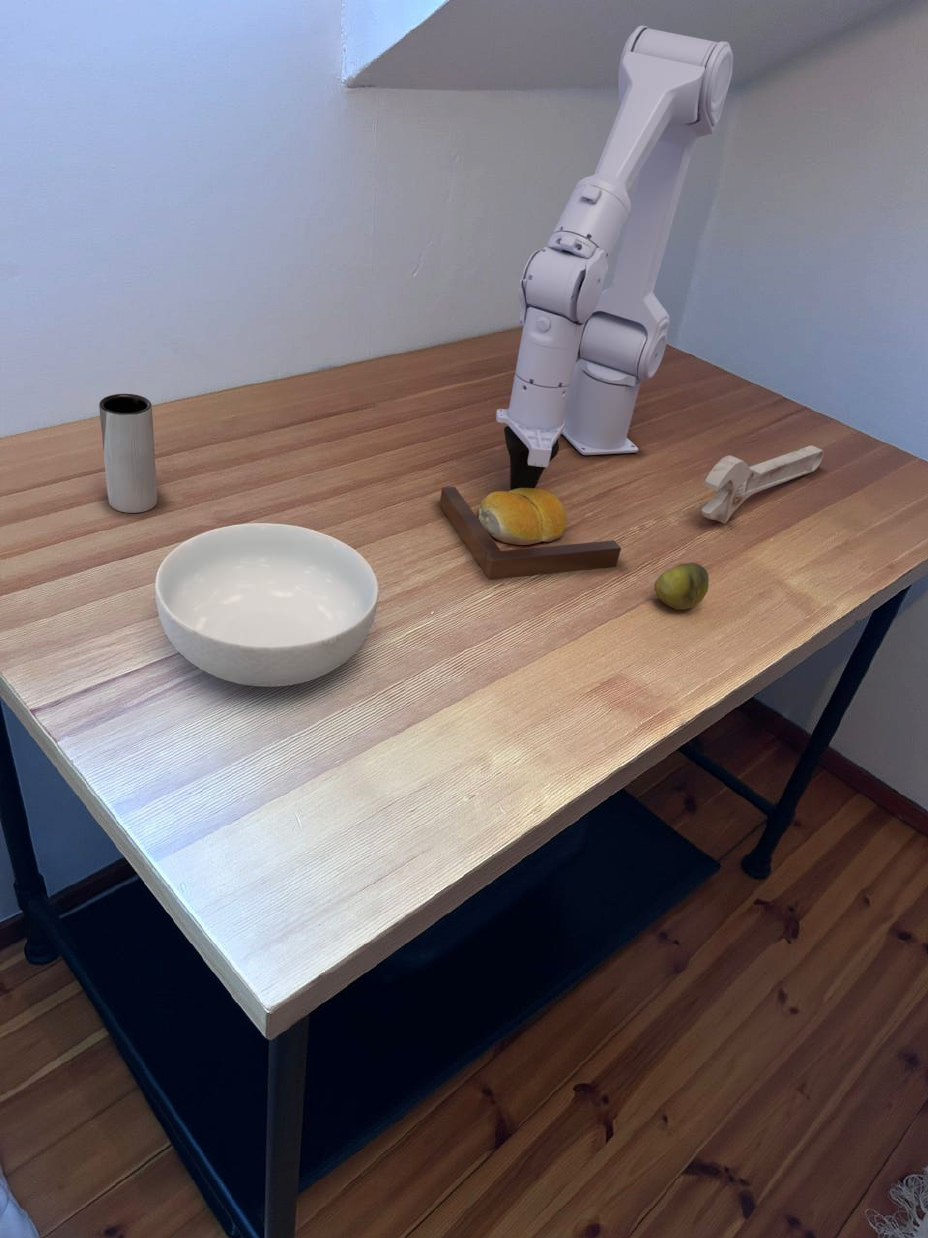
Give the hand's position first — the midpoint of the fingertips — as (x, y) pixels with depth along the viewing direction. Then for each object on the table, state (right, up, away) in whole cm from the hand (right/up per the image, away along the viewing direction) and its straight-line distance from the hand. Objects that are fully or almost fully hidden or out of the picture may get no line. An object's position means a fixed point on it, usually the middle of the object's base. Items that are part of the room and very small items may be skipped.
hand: (520, 495), depth 102 cm
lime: (+14, -12, -11) cm, 22 cm away
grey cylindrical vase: (-38, -2, -10) cm, 40 cm away
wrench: (+29, +1, +10) cm, 30 cm away
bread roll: (0, -4, -3) cm, 5 cm away
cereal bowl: (-22, -16, -25) cm, 37 cm away
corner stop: (0, -5, -5) cm, 7 cm away
